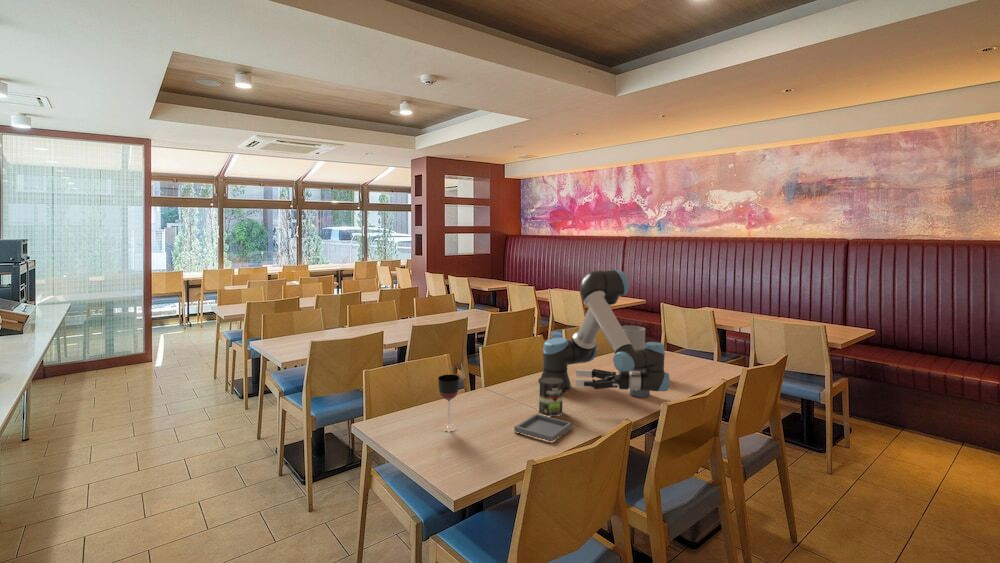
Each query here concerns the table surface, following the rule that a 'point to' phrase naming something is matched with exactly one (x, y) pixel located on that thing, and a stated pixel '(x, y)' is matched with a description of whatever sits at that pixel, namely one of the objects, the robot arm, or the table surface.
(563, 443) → the table surface
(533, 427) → the slate tray
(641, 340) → the cylinder vase
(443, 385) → the wineglass
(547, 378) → the coffee can
